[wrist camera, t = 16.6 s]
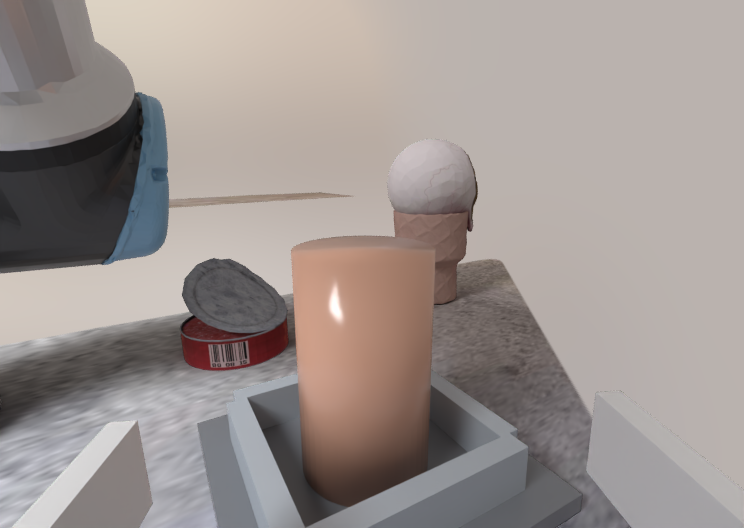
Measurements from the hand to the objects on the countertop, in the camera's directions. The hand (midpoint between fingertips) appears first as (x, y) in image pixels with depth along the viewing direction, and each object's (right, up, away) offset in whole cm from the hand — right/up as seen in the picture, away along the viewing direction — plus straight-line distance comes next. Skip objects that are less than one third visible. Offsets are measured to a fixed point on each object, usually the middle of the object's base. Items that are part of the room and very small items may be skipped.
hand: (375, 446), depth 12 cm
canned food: (-13, -3, +28) cm, 31 cm away
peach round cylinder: (0, -6, +11) cm, 12 cm away
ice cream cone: (+8, +1, +41) cm, 42 cm away
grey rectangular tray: (-1, -7, +12) cm, 13 cm away
